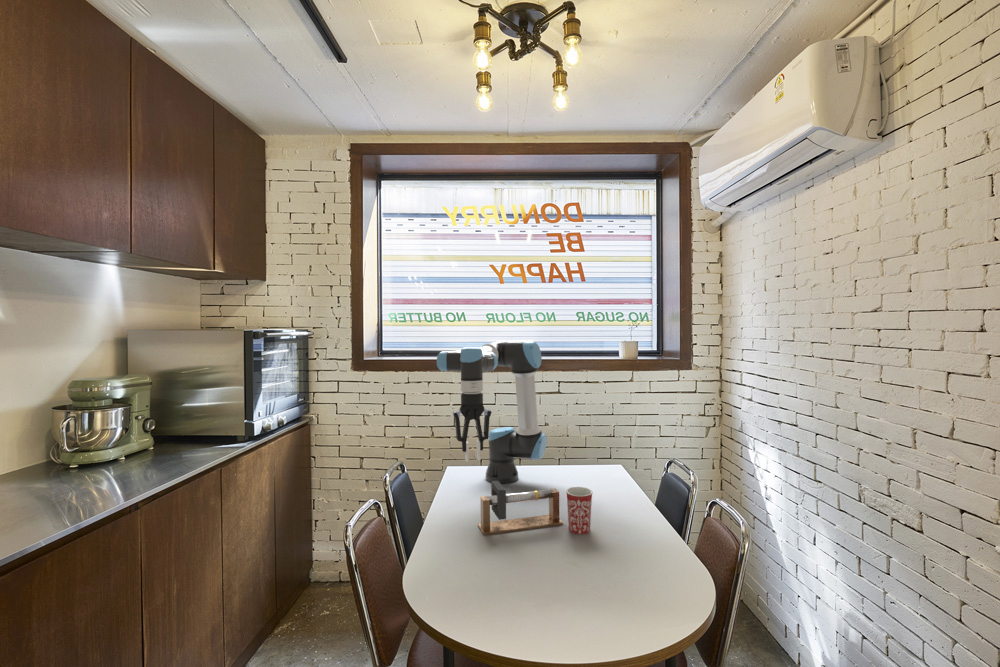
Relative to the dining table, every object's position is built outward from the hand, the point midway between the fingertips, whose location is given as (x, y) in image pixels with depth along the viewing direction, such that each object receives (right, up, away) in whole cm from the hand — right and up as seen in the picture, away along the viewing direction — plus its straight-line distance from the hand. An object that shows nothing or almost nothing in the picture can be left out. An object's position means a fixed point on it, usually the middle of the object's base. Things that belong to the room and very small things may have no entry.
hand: (472, 460), depth 163 cm
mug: (+37, -24, +2) cm, 44 cm away
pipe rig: (+17, -24, +5) cm, 30 cm away
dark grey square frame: (+9, -19, +3) cm, 22 cm away
